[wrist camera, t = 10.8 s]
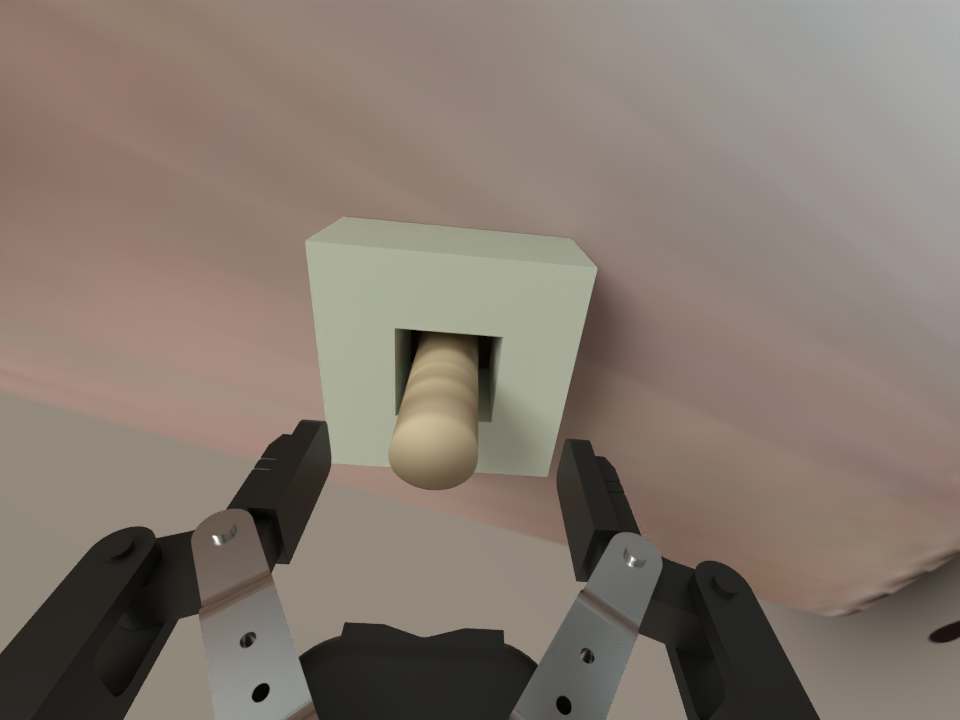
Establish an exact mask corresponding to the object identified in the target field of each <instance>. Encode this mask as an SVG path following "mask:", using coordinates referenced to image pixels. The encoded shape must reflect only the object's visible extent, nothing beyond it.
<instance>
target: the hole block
mask: <svg viewBox="0 0 960 720" xmlns="http://www.w3.org/2000/svg"><path fill="white" fill-rule="evenodd" d="M305 245H306V254H307V262H308V271H309V280H310V288H311V297H312V305H313V314H314V323H315V331H316V340H317V349H318V357H319V366H320V375H321V383H322V392H323V401H324V409H325V418H326V422H327V425H328V432H329V439H330V447H331V456H332V460H331V463H337V464H353V465H368V466H384V467H391V465H390V463H389V459H388V450H389V446H390V443H391V439H392V436H393V432H394V428H395V425H396V421H397V418H398V414H399V411H400V407H401V404H402V400H403V397H404V393H405V390H406V386H407V383H408V379H409V376H410V372H411V369H412V365H413V363H411V330H423V331H435V332H448V333H460V334H472V335H484V336H493V338H492V346H491V354H490V363H489V369H486V368H478V463H477V467H476V469H475V471H474V472H476V473H492V474H507V475H523V476H538V477H548V472H549V468H550V464H551V460H552V456H553V452H554V447H555V443H556V439H557V435H558V431H559V427H560V422H561V418H562V414H563V410H564V406H565V402H566V398H567V393H568V389H569V385H570V381H571V377H572V373H573V368H574V364H575V360H576V356H577V352H578V348H579V343H580V339H581V335H582V331H583V327H584V323H585V318H586V314H587V310H588V306H589V302H590V298H591V293H592V289H593V285H594V281H595V277H596V273H597V267H596V265H595V264H594V263H593V262H592V261H591V260H590V259H589V258H588V257H587V255H586V254H585V253H584V252H583V251H582V250H581V249H580V248H579V247H578V245H577V244H576V243H575V242H574V241H573V240H572V239H571V238H563V237H552V236H542V235H531V234H521V233H510V232H500V231H489V230H479V229H468V228H458V227H448V226H437V225H427V224H416V223H406V222H395V221H385V220H374V219H364V218H354V217H343V218H341V219H339V220H338V221H336V222H335V223H333V224H331V225H330V226H328V227H327V228H325V229H323V230H322V231H320V232H318V233H317V234H315V235H314V236H312V237H310V238H309V239H307V240H306V241H305Z"/></svg>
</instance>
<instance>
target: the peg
mask: <svg viewBox="0 0 960 720" xmlns="http://www.w3.org/2000/svg"><path fill="white" fill-rule="evenodd" d="M388 459H389V463H390V465H391V467H392V469H393V471H394V472H395V473H396V474H397V476H399V477H400V478H401V479H402V480H404V481H405V482H407V483H408V484H410V485H413V486H415V487H418V488H422V489H427V490H444V489H449V488H453V487H455V486H458V485H460V484H462V483H463V482H465V481H466V480H467V479H468V478H470V477H471V475H472V474H473V473H474V471H475V469H476V467H477V463H478V335H472V334H460V333H448V332H435V331H423V330H422V334H421V337H420V341H419V344H418V348H417V351H416V355H415V358H414V362H413V365H412V369H411V372H410V376H409V379H408V383H407V386H406V390H405V393H404V397H403V400H402V404H401V407H400V411H399V414H398V418H397V421H396V425H395V428H394V432H393V436H392V439H391V443H390V446H389V450H388Z"/></svg>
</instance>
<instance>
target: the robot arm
mask: <svg viewBox="0 0 960 720" xmlns="http://www.w3.org/2000/svg"><path fill="white" fill-rule="evenodd" d="M331 460H332V456H331V447H330V439H329V432H328V425H327V422H326V421H316V420H301V421H300V422H299V424H298V425H297V427H296V429H295V430H294V432H293V433H292V435H289V434H283V435H281V436H280V437H279V438H277V439H276V440H275V441H273V442H272V443H271V444H269V446H268V447H267V449H266V450H265V452H264V453H263V455H262V456H261V460H259V461H258V462H257V464H256V465H255V467H254V470H252V471H251V473H250V474H249V476H248V477H247V479H246V480H245V482H244V483H243V485H242V486H241V488H240V490H239V491H238V492H237V494H236V495H235V497H234V498H233V500H232V501H231V503H230V504H229V506H228V507H227V509H226V510H223V511H220V512H217V513H215V514H213V515H211V516H210V517H208V518H207V519H205V520H204V521H203V522H202V523H200V524H199V526H198V527H197V528H196V529H195V530H193V531H189V532H185V533H180V534H175V535H170V536H165V537H161V538H156V537H155V535H154V533H153V532H152V530H150V529H148V528H146V527H139V526H138V527H129V528H125V529H121V530H119V531H117V532H114V533H112V534H110V535H108V536H106V537H104V538H103V539H101V540H100V541H98V542H97V543H96V544H95V545H94V546H92V548H91V549H90V550H89V551H88V552H87V553H86V554H85V555H84V556H83V558H82V559H81V560H80V561H79V562H78V564H77V565H76V566H75V567H74V568H73V569H72V571H71V572H70V573H69V574H68V575H67V576H66V578H65V579H64V580H63V581H62V582H61V583H60V585H59V586H58V587H57V588H56V589H55V590H54V592H53V593H52V594H51V595H50V597H49V598H48V599H47V600H46V601H45V602H44V603H43V605H42V606H41V607H40V608H39V609H38V610H37V612H36V613H35V614H34V615H33V616H32V617H31V619H30V620H29V621H28V622H27V623H26V625H25V626H24V627H23V628H22V629H21V631H19V633H18V634H17V635H16V636H15V637H14V638H13V640H12V641H11V642H10V643H9V645H8V646H7V647H6V648H5V649H4V650H3V651H2V653H1V654H0V720H123V719H124V717H125V716H126V714H127V712H128V710H129V708H130V707H131V705H132V703H133V701H134V699H135V697H136V696H137V694H138V692H139V690H140V688H141V686H142V685H143V683H144V681H145V679H146V678H147V676H148V674H149V672H150V670H151V669H152V667H153V665H154V663H155V661H156V659H157V658H158V656H159V654H160V652H161V650H162V649H163V647H164V645H165V643H166V641H167V639H168V638H169V636H170V634H171V632H172V631H173V629H174V627H175V625H176V623H177V621H178V620H179V619H180V618H184V617H188V616H192V615H195V614H199V619H200V625H201V632H202V638H203V644H204V651H205V657H206V663H207V669H208V675H209V682H210V688H211V694H212V700H213V707H214V713H215V719H216V720H606V717H607V715H608V712H609V709H610V707H611V704H612V701H613V699H614V697H615V694H616V691H617V689H618V686H619V684H620V681H621V678H622V676H623V673H624V670H625V668H626V665H627V663H628V660H629V658H630V655H631V653H632V650H633V647H634V645H635V642H636V639H637V637H638V634H642V635H644V636H647V637H649V638H652V639H655V640H657V641H659V642H662V643H664V644H665V645H666V649H667V652H668V656H669V659H670V662H671V666H672V669H673V672H674V675H675V679H676V682H677V685H678V689H679V692H680V695H681V698H682V702H683V705H684V708H685V712H686V715H687V718H688V720H820V718H819V717H818V715H817V713H816V711H815V709H814V707H813V705H812V703H811V702H810V700H809V698H808V696H807V694H806V692H805V690H804V688H803V686H802V684H801V682H800V681H799V679H798V677H797V675H796V673H795V671H794V669H793V667H792V665H791V663H790V662H789V660H788V658H787V656H786V654H785V652H784V650H783V648H782V646H781V644H780V643H779V641H778V639H777V637H776V635H775V633H774V631H773V629H772V627H771V625H770V624H769V622H768V620H767V618H766V616H765V614H764V612H763V610H762V608H761V607H760V605H759V603H758V601H757V599H756V597H755V595H754V593H753V591H752V589H751V588H750V586H749V584H748V583H747V582H746V581H745V579H744V578H743V577H742V576H741V575H740V574H739V573H737V572H736V571H735V570H733V569H732V568H730V567H729V566H727V565H725V564H722V563H719V562H716V561H704V562H701V563H700V564H699V565H698V566H697V567H696V569H693V568H690V567H687V566H684V565H681V564H678V563H676V562H673V561H670V560H668V559H666V558H664V557H662V556H660V554H659V552H658V550H657V549H656V548H655V546H654V545H653V544H652V543H651V542H649V541H648V540H647V539H645V538H644V537H642V536H641V534H640V531H639V529H638V526H637V524H636V521H635V519H634V516H633V513H632V511H631V508H630V506H629V503H628V501H627V498H626V496H625V495H624V490H623V488H622V485H621V484H620V480H619V478H618V475H617V473H616V470H615V468H614V467H613V466H612V465H611V464H610V463H609V461H608V460H607V459H606V458H605V457H600V456H595V454H594V451H593V448H592V445H591V443H590V441H589V440H578V439H566V441H565V443H564V447H563V451H562V455H561V459H560V463H559V467H558V471H557V491H558V496H559V501H560V506H561V510H562V515H563V520H564V525H565V529H566V534H567V539H568V544H569V548H570V553H571V558H572V562H573V567H574V572H575V576H576V581H581V582H587V584H586V586H585V588H584V589H583V590H581V591H580V593H579V594H578V596H577V597H576V599H575V601H574V603H573V605H572V606H571V608H570V610H569V612H568V613H567V615H566V617H565V619H564V621H563V622H562V624H561V626H560V628H559V629H558V631H557V633H556V635H555V636H554V638H553V640H552V642H551V644H550V645H549V647H548V649H547V651H546V652H545V654H544V656H543V658H542V660H541V661H540V663H539V665H538V664H537V663H536V662H534V661H533V660H532V659H531V658H530V657H529V656H527V655H526V654H525V653H523V652H522V651H520V650H518V649H516V648H515V647H513V646H511V645H508V644H505V643H504V631H503V630H489V629H469V628H465V629H460V630H456V631H452V632H447V633H443V634H439V635H435V636H431V637H419V636H416V635H413V634H410V633H407V632H405V631H402V630H399V629H396V628H393V627H390V626H387V625H385V624H367V623H347V622H345V624H344V627H343V631H342V634H341V636H338V637H334V638H332V639H329V640H326V641H324V642H322V643H320V644H318V645H316V646H314V647H312V648H311V649H309V650H308V651H306V652H305V653H303V654H302V655H301V656H300V657H298V655H297V652H296V649H295V645H294V642H293V639H292V636H291V633H290V630H289V627H288V624H287V621H286V618H285V615H284V612H283V608H282V605H281V603H280V599H279V596H278V593H277V590H276V587H275V584H274V581H273V578H272V575H271V573H272V571H273V569H274V566H275V564H290V561H291V559H292V557H293V554H294V552H295V550H296V548H297V545H298V543H299V541H300V538H301V536H302V534H303V532H304V529H305V527H306V524H307V522H308V520H309V518H310V516H311V513H312V511H313V509H314V507H315V504H316V502H317V500H318V497H319V495H320V493H321V490H322V488H323V486H324V484H325V481H326V479H327V477H328V474H329V472H330V468H331Z"/></svg>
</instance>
